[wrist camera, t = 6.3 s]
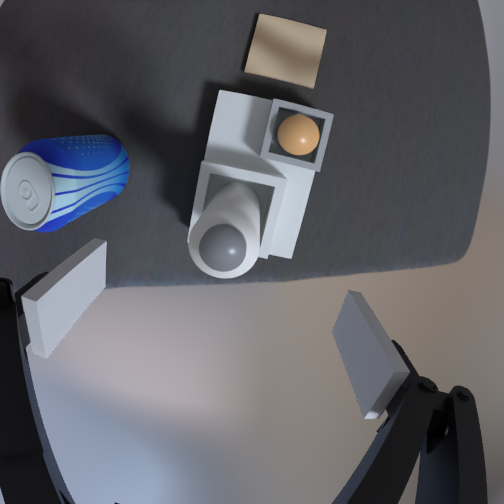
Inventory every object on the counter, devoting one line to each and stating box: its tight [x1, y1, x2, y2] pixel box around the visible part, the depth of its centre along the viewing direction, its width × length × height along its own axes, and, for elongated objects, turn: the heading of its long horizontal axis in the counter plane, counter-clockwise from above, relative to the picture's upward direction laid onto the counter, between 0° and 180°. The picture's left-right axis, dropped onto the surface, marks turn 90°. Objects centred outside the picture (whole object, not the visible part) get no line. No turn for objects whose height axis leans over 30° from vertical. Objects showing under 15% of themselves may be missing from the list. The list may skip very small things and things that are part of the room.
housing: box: [188, 90, 334, 259], centre depth 32 cm, size 17×12×6 cm
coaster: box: [244, 14, 327, 89], centre depth 29 cm, size 8×8×1 cm
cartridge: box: [188, 182, 260, 278], centre depth 27 cm, size 5×5×14 cm
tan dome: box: [276, 115, 319, 155], centre depth 29 cm, size 4×4×3 cm
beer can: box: [0, 135, 130, 232], centre depth 27 cm, size 8×8×16 cm
